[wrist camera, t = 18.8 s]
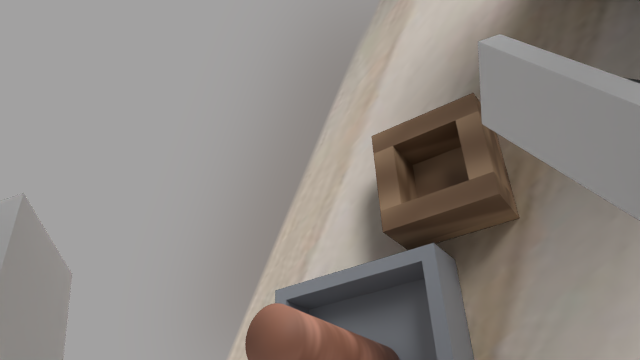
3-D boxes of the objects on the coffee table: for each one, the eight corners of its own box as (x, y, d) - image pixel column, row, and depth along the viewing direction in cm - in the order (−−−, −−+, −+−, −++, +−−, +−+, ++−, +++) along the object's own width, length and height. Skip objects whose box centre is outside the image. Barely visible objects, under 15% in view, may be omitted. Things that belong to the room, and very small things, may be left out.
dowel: (353, 349, 46) (246, 311, 36) (398, 340, 44) (298, 296, 34) (357, 403, 44) (244, 378, 34) (405, 396, 42) (299, 366, 32)
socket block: (396, 159, 54) (371, 136, 50) (493, 121, 49) (473, 92, 45) (409, 251, 48) (382, 231, 45) (519, 217, 44) (499, 193, 40)
